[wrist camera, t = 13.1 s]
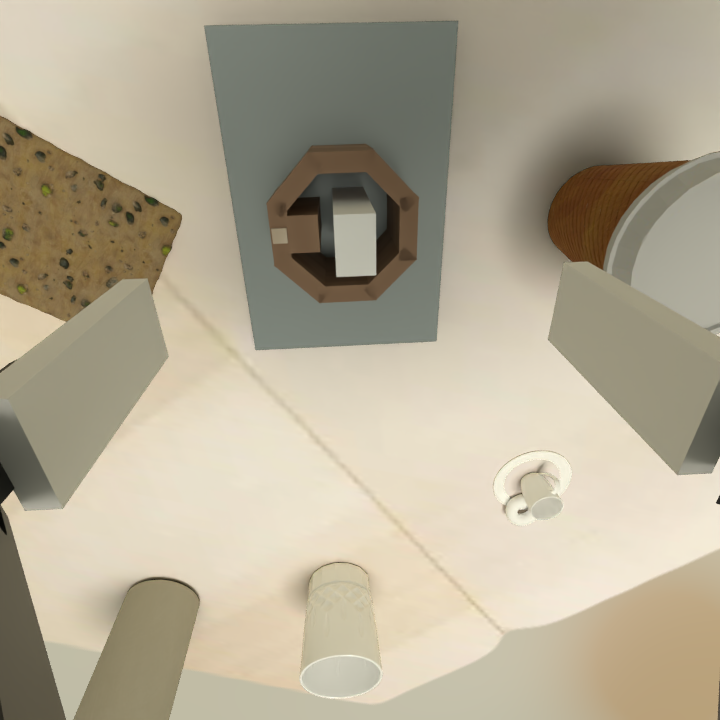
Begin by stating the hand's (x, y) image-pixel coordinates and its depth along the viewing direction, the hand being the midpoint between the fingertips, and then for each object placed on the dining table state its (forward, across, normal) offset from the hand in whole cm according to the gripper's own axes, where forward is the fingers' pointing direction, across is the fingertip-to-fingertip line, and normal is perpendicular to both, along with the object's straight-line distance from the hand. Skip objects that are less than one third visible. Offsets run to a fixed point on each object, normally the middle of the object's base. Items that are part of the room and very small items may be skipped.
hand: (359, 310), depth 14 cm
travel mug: (+18, +22, +42) cm, 51 cm away
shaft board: (+18, 0, 0) cm, 19 cm away
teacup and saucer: (+19, -15, +28) cm, 37 cm away
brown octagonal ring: (+17, 0, 0) cm, 17 cm away
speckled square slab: (+19, +19, +2) cm, 27 cm away
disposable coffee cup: (+19, -18, +1) cm, 26 cm away
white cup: (+19, +2, +41) cm, 45 cm away
